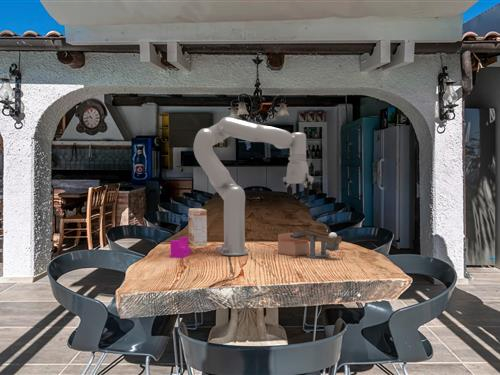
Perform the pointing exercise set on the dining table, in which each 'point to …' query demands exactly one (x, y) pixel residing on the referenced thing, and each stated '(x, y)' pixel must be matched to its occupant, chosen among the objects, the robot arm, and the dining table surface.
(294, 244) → the cup
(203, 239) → the coffeecake box
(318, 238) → the lever
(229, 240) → the robot arm
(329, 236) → the ball
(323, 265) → the dining table surface
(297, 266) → the dining table surface
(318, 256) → the stand
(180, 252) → the toy block
